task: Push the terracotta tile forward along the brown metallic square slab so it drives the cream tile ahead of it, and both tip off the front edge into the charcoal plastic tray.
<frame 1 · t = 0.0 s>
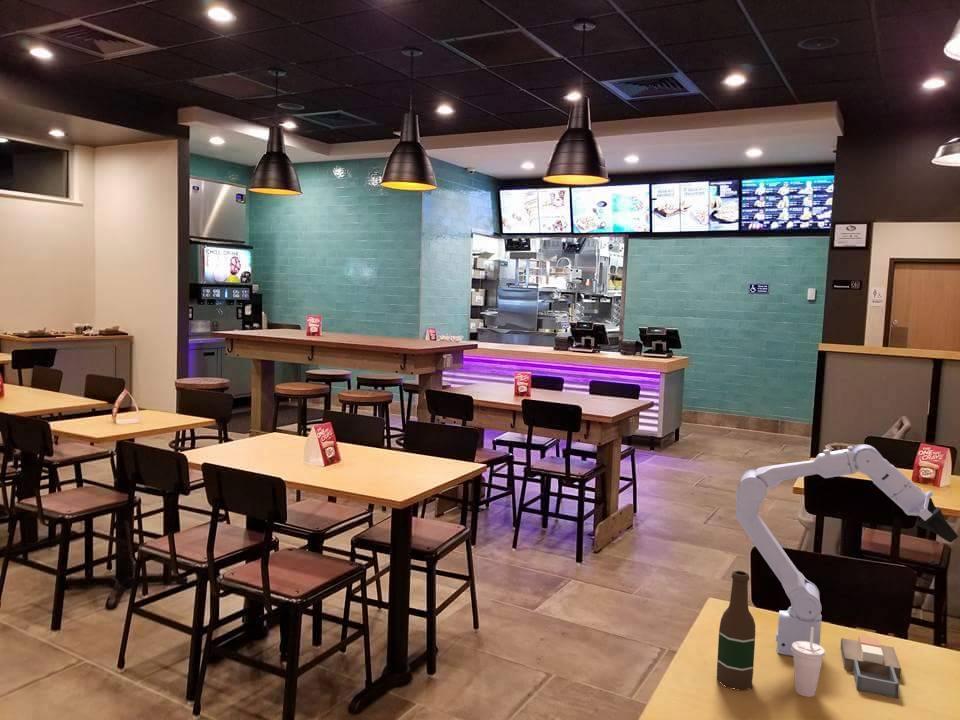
hand: (950, 534, 158), 32 cm above the table, tool tilted 50°, fingers open, 7 cm apart
cream tile: (871, 658, 163), point 2 cm above the table, touching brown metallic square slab
beer bottle: (734, 682, 156), on the table
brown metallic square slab: (869, 663, 166), on the table
smoothie: (805, 693, 152), on the table
terracotta tile: (868, 648, 168), point 2 cm above the table, touching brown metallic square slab
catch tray: (874, 683, 157), on the table
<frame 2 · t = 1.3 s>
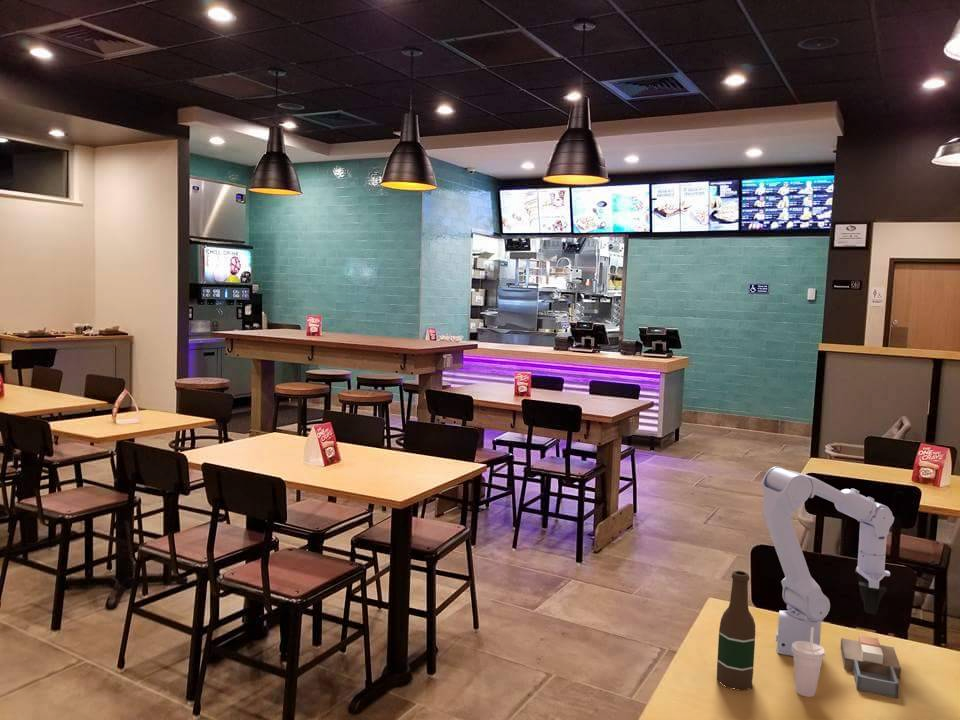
hand: (868, 607, 174), 10 cm above the table, tool pointing down, fingers open, 7 cm apart
nothing on the table moved.
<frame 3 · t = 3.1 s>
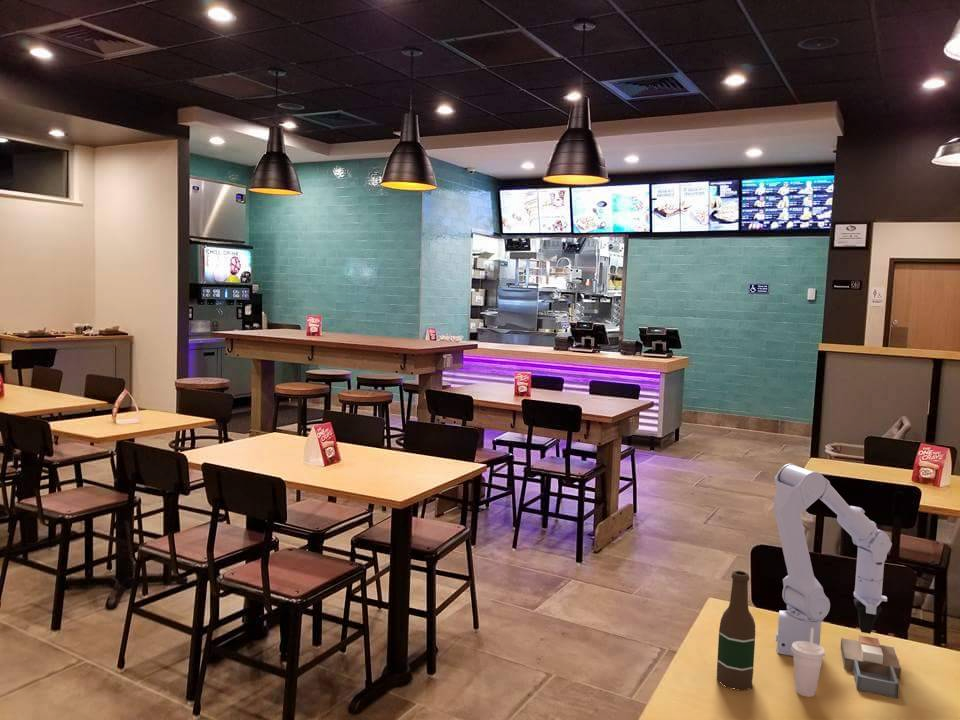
hand: (865, 631, 175), 3 cm above the table, tool pointing down, fingers closed
nothing on the table moved.
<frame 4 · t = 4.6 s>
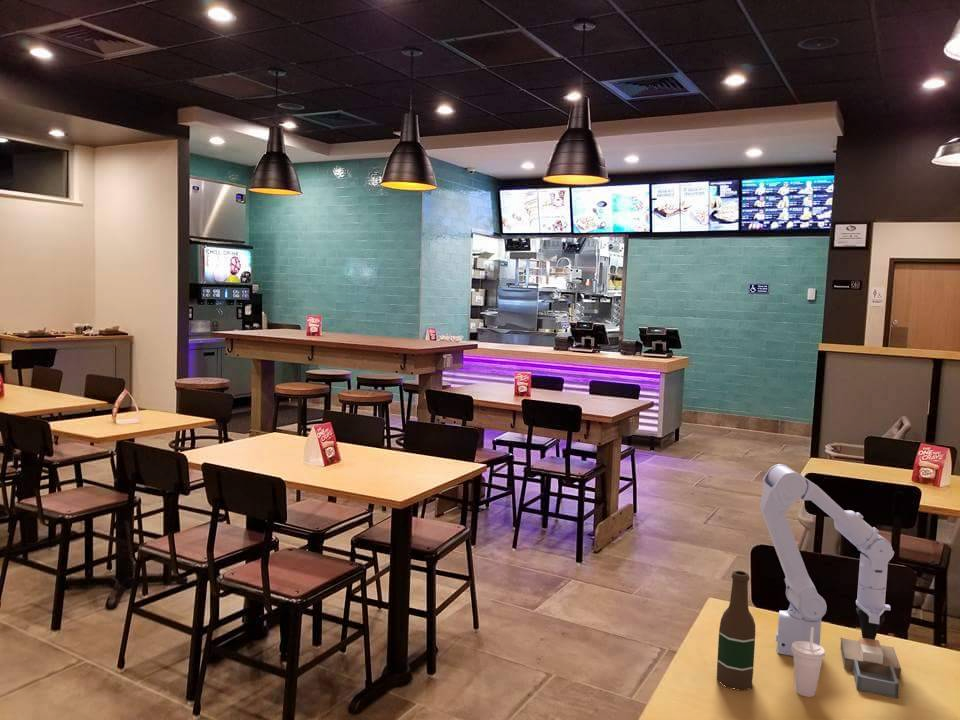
hand: (868, 641, 169), 3 cm above the table, tool pointing down, fingers closed
cream tile: (871, 658, 163), point 3 cm above the table
terracotta tile: (869, 650, 167), point 3 cm above the table, touching gripper
everything else where it was.
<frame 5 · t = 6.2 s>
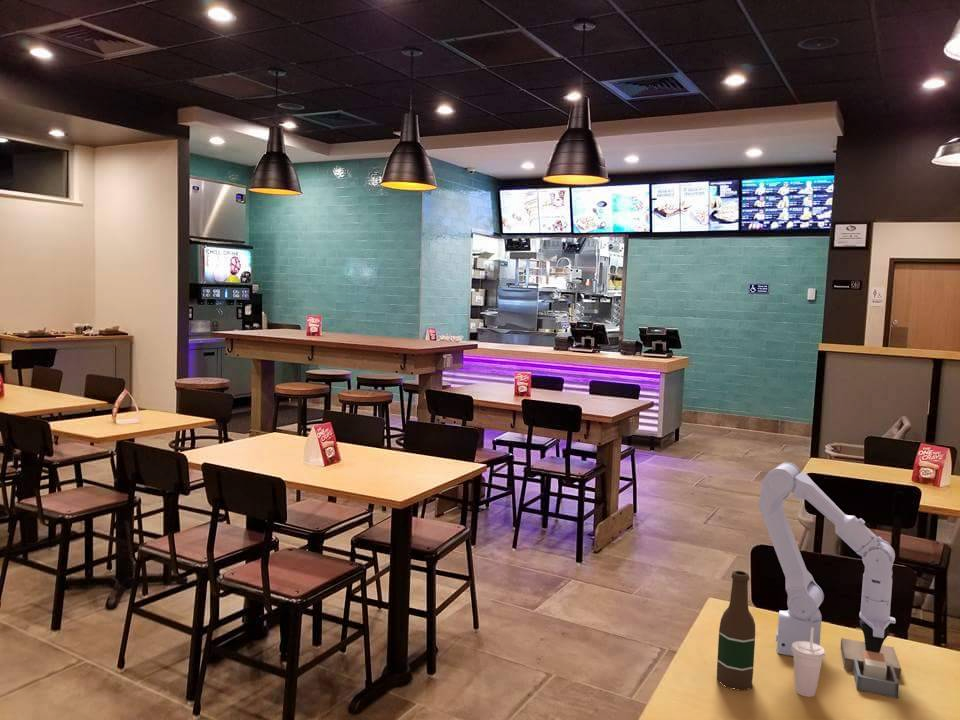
hand: (872, 655, 162), 3 cm above the table, tool pointing down, fingers closed
cream tile: (874, 668, 158), point 3 cm above the table, tilted 103°, touching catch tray, terracotta tile
terracotta tile: (873, 665, 160), point 2 cm above the table, tilted 17°, touching cream tile, gripper, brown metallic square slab
everything else where it was.
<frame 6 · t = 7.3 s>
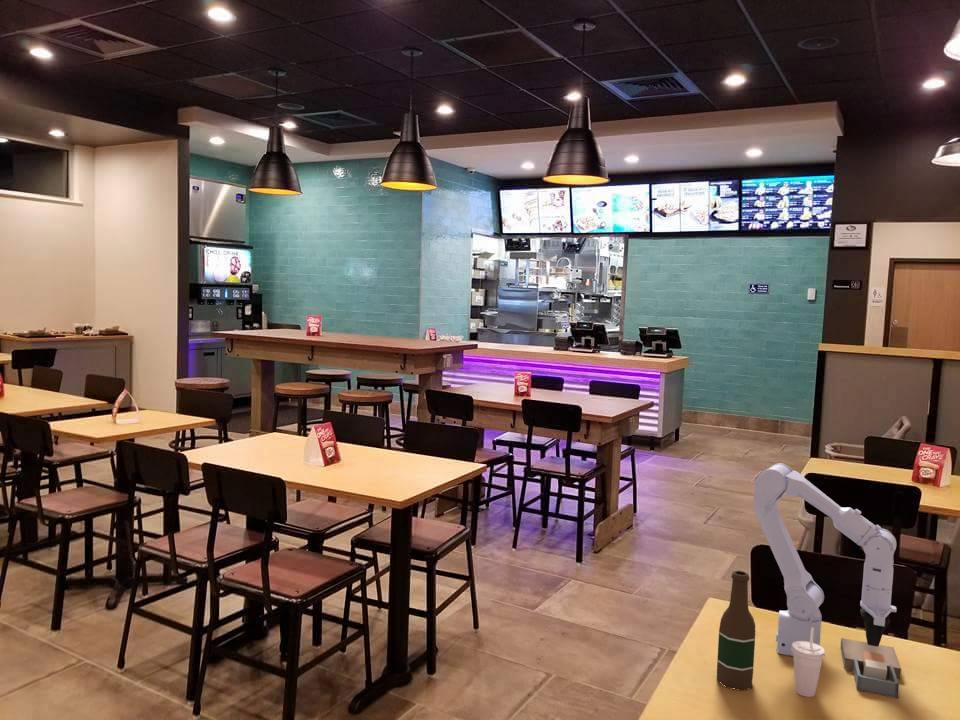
hand: (872, 644, 162), 6 cm above the table, tool pointing down, fingers closed
cream tile: (874, 668, 158), point 3 cm above the table, tilted 110°, touching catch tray, terracotta tile
terracotta tile: (873, 666, 160), point 2 cm above the table, tilted 20°, touching cream tile, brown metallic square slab
everything else where it was.
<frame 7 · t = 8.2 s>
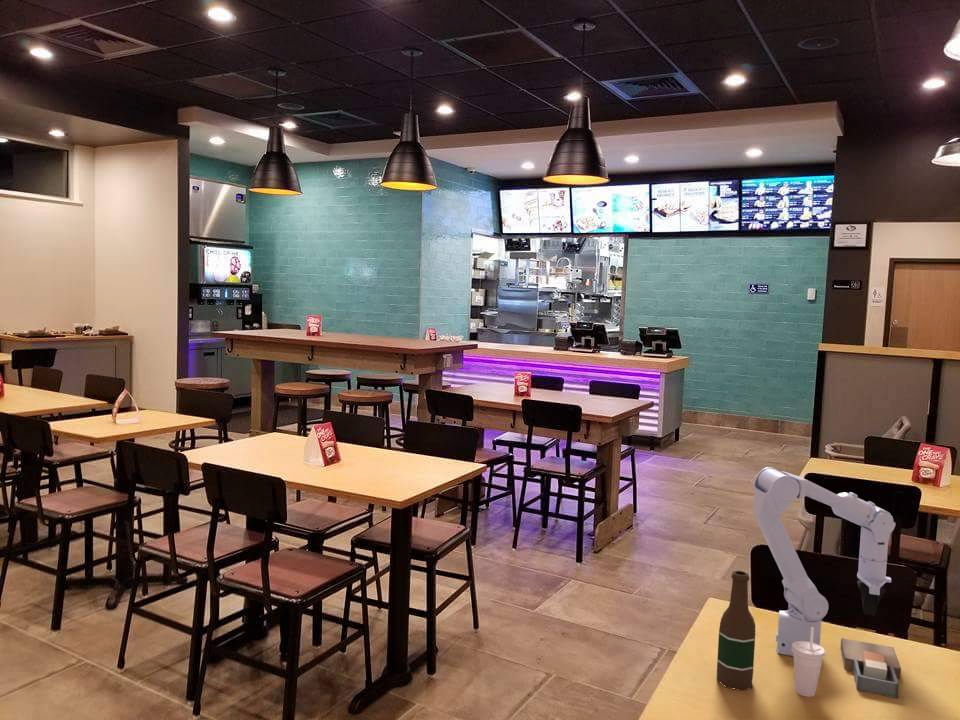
hand: (869, 613, 171), 9 cm above the table, tool pointing down, fingers closed
nothing on the table moved.
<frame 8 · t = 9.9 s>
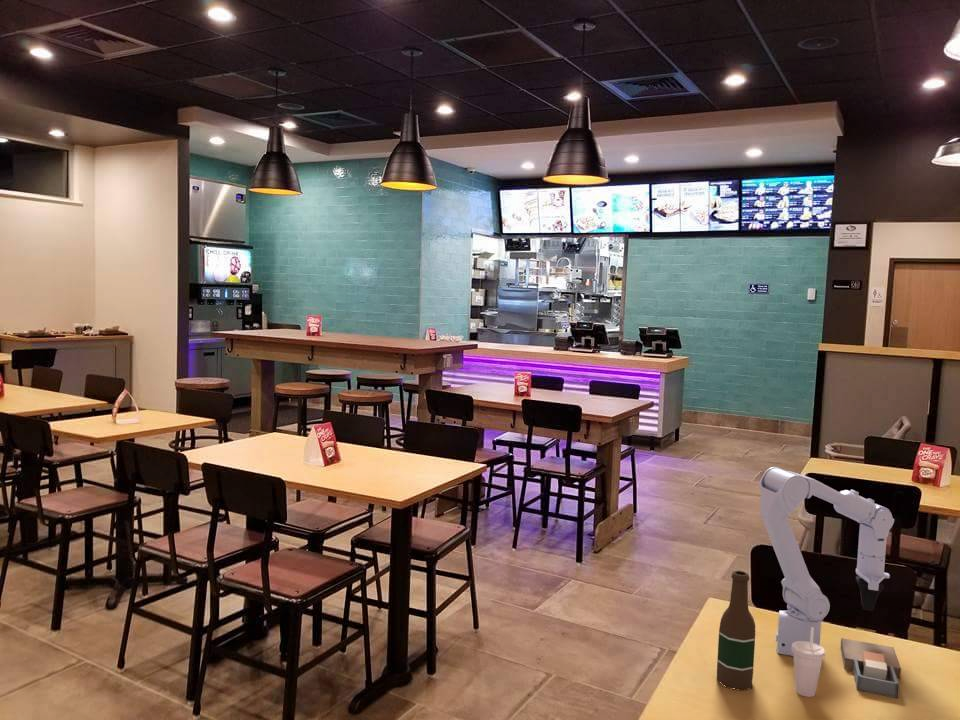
hand: (867, 609, 173), 9 cm above the table, tool pointing down, fingers closed
nothing on the table moved.
at the end: cream tile inside the target area (1.5 cm from its centre), point 2.9 cm above the table; terracotta tile inside the target area (3.8 cm from its centre), point 2.2 cm above the table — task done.
